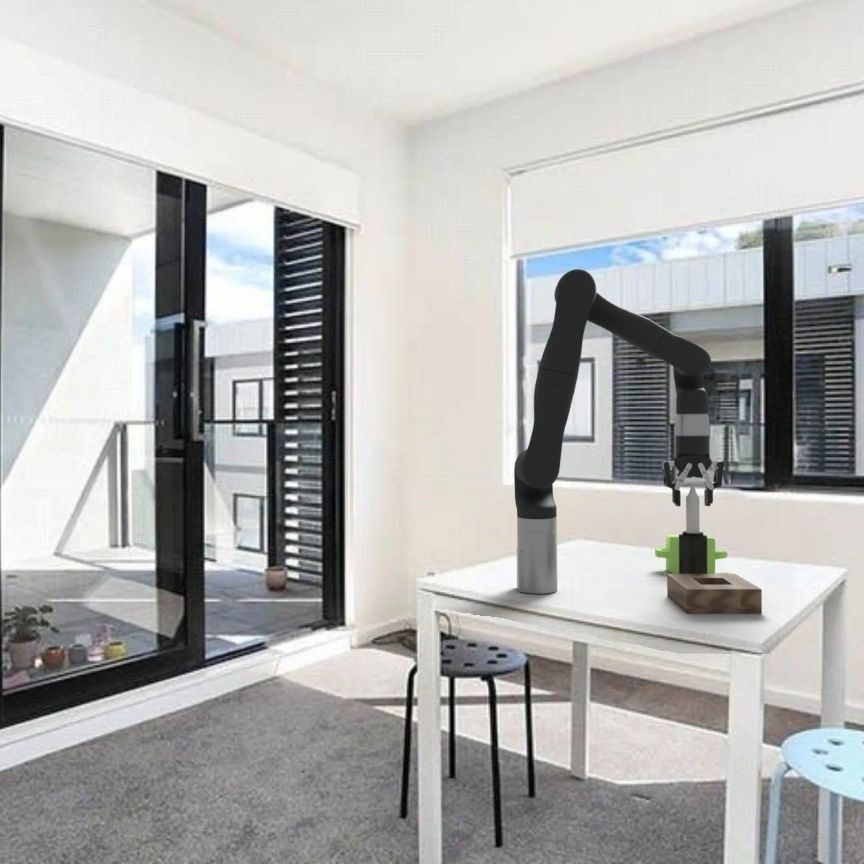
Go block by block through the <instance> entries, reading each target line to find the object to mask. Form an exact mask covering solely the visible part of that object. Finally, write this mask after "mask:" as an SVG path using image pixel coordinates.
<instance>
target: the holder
mask: <svg viewBox="0 0 864 864" xmlns="http://www.w3.org/2000/svg"><path fill="white" fill-rule="evenodd" d="M666 579H667V581H666V582H667V583H666V587H667V588H666V589H667V591H666V592H667V593H666V594H667V597H668V598H669V599H670V600H671V601H674V602H673V603H674V604H676V605H677V607H679V608H680V609H681V610H682V611H683V612H685V614H687V615H688V614H695V615H696V614H699V615H700V614H704V615H706V614H707V615H710V614H711V615H713V614H714V613H716V614H717V613H762V610H763V608H762V607H763V606H762V605H763V604H762V603H763V602H762V598H763V597H762V596H763V594H762V592H763V590H762V588H760V587H758V586H757V585H756V584H754V583H751V582H750V581H748V580H747V579H744V578H743V577H741V576H740V575H738V574H737V573H715V574H673V573H667V574H666ZM716 614H715V615H716ZM762 614H763V613H762ZM717 615H718V614H717Z"/></svg>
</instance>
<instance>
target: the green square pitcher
mask: <svg viewBox="0 0 864 864" xmlns="http://www.w3.org/2000/svg"><path fill="white" fill-rule="evenodd" d="M654 556H655V557H657V558H661V559H662V558H663V559H665V569H666V570H667V571H668V572H669V574H679V534H675V535H674V534H669V535H667V534H666V535H665V548H654ZM727 558H728V552H727V550H724V549H722V550H717V549H716V539H715V538H713V537H710V536H707V574H716V560H720V559H721V560H722V559H727Z"/></svg>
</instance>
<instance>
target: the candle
mask: <svg viewBox="0 0 864 864" xmlns="http://www.w3.org/2000/svg"><path fill="white" fill-rule="evenodd" d="M685 513H686V515H685V529H686V530H685V531H682V532H681V533H682V534H681V533H679V534H678V535H679V574H707V537H708V535H706V534H705V535H704V532H702V531H700V528H701V527H700V495H698V493H697V491H696V488H695V483H694V482H691V483H690V488H689V492H688V494H687V495H686V496H685Z"/></svg>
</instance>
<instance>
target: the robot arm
mask: <svg viewBox="0 0 864 864" xmlns="http://www.w3.org/2000/svg"><path fill="white" fill-rule="evenodd" d="M596 283H597V282H596V280H595V279H594V277H593V276H592V274H591V273H589V272H588V271H587V270H585V269H582V268H575V269H572V270H569V271H568V272H566V273H564V274H563V275H562V276H561V277H560V278H559V280H558V282H557V284H556V287H555V289H554V294H553V295H554V297H553V298H554V301H555V311H554V318H553V321H552V322H553V323H552V325H551V326H552V328H551V330H550V333H549V336H548V338H547V342H546V344H545V347H544V349H543V352H542V355H541V359H540V362H539V366H538V370H537V375H536V379H535V384H534V391H533V426H532V431H531V435H530V439H529V443H528V445H527V448H526V449H525V450H522V452H520V454H518V456H517V457H516V459H515V462H514V467H513V468H514V470H513V472H514V473H513V474H514V475H513V477H514V478H513V479H514V482H513V483H514V484H513V485H514V502H515V506H516V521H517V522H516V525H517V526H516V528H517V529H516V531H517V532H516V535H517V538H516V542H517V547H516V587H517V591H518V593H527V594H533V595H535V594H536V595H538V594H540V595H541V594H542V595H543V594H553V593H556V592H557V591H558V532H557V531H558V530H557V529H558V525H557V524H558V520H557V519H558V518H557V516H558V514H557V509H558V508H557V505H556V502H555V499H554V488H553V485H554V483H555V482H556V481H557V479H558V477H559V474H560V470H561V469H560V468H561V460H562V450H563V441H564V435H565V429H566V426H567V422H568V419H569V415H570V412H571V407H572V403H573V398H574V395H575V391H576V386H577V382H578V378H579V377H578V376H579V372H580V371H579V370H580V365H581V360H582V359H581V358H582V350H583V341H584V334H585V331H586V330H585V329H586V327H587V326H586V325H587V322H590V323H591V324H593V325H594V324H595V325H597V326H598V327H601V328H602V329H604V330H606V331H608V332H610V333H612V334H613V335H614V336H617V337H619V338H620V339H622V340H624V341H625V342H627V343H628V344H629V345H631V346H633V347H635V348H636V349H637V350H640V351H641V352H643V353H644V354H646V355H648V356H649V357H651V358H654V359H656V360H661V361H663V362H665V363H666V364H669V365H670V366H672V367H673V368H672V369H673V370H672V371H673V381H674V386H675V387H674V388H675V392H676V394H675V395H676V399H675V401H676V402H675V411H676V412H675V414H676V415H675V423H674V435H675V436H674V439H675V440H674V441H675V443H674V444H675V446H674V447H675V451H674V452H675V453H674V454H675V457H674V459H673V460H669V461H665V460H664V461H661V472H662V478H663V485H664V486H665V487H667V488H669V489H671V491H672V492H671V493H672V494H671V496H672V498H671V499H672V504H674V506H675V507H681V490H680V489H681V486H682V485H683V483H684V482H685V481H686V478H687V479H690V478H691V479H692V478H696V479H698V478H699V479H700V481H701V482H702V483H703V486H704V487H705V489H704V491H703V492H704V493H703V494H704V500H703V501H704V506H705V507H711V504H714V503H713V502H714V490H715V489H717V488H721V487H722V485H723V476H724V469H725V468H724V467H725V462H724V461H722V460H721V461H720V460H712V458H711V455H710V453H711V452H710V451H711V450H710V449H711V448H710V447H711V446H710V442H711V441H710V427H711V426H710V419H709V396H708V392H707V390H706V389H705V379H704V376H705V374H706V373H708V371H709V370H710V368H711V367H712V366H711V364H712V359H711V355H710V353H709V352H708V351H707V350H706V349H704V347H702V346H700V345H699V344H696V343H694V342H692V341H690V340H688V339H685V338H684V337H682V336H681V337H680V336H679V335H676V334H674V333H673V332H671V331H670V330H668V329H666V328H665V327H663V326H661V325H660V324H658V323H657V322H654V321H653V320H652V319H650V318H647V317H645V316H643V315H641V314H638V313H636V312H633V311H630V310H628V309H625V308H622V307H620V306H618V305H616V304H614V303H613V302H612V301H610V300H607V299H606V298H605V297H604V296H602V295H601V294H600V293H598V291H597V284H596ZM673 466H674V467H675V468H676V469H677V471H678V472H677V473H676V475H675V477H674V480H673V482H672V475H671V474H672V473H671V471H672V470H673ZM710 467H712V470H714V472H713V479H712V480H711V477H710V475H709V473H708V472H707V471H708V470H709V468H710Z"/></svg>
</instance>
